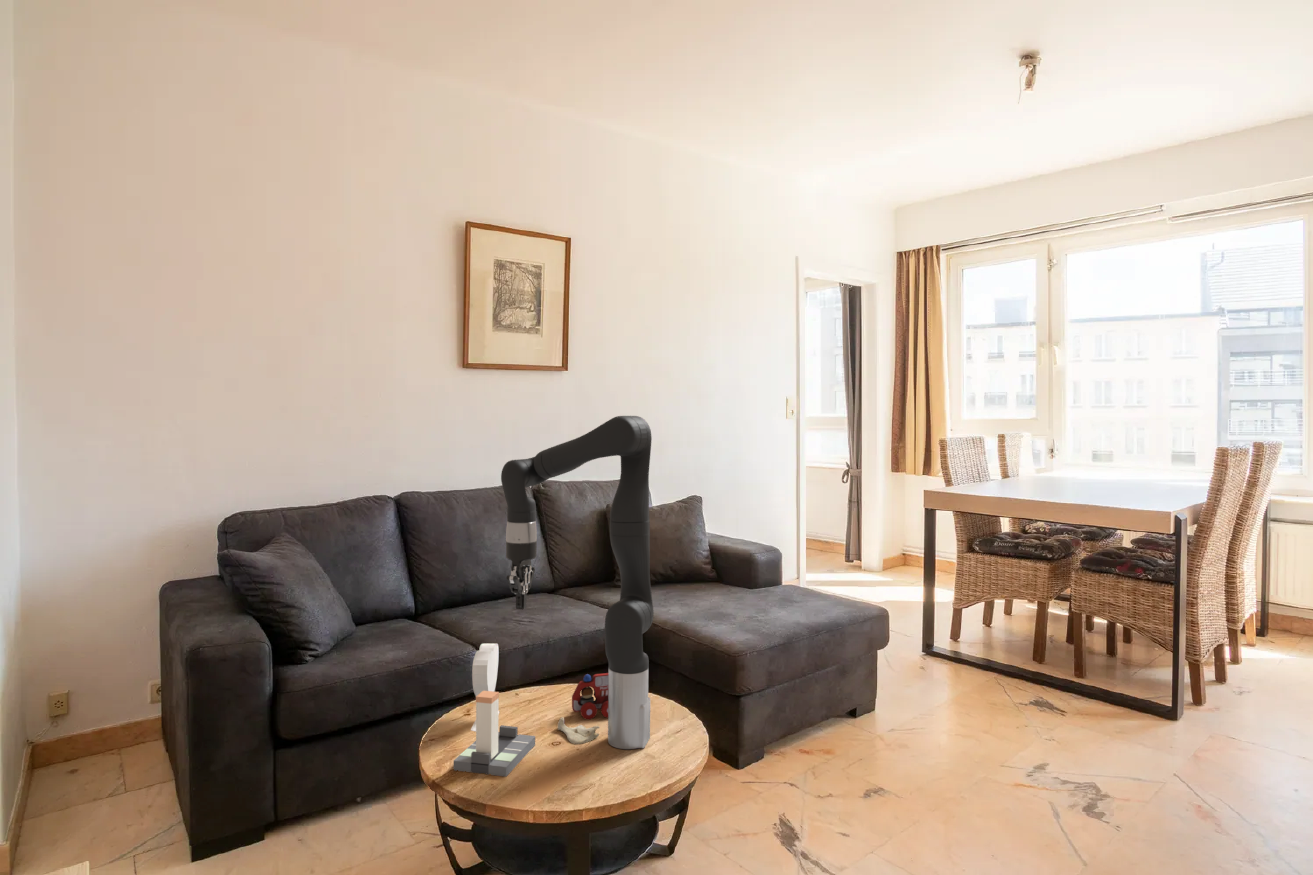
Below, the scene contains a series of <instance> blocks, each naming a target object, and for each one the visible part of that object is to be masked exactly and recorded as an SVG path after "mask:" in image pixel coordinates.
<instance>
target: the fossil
mask: <svg viewBox="0 0 1313 875" xmlns="http://www.w3.org/2000/svg"><path fill="white" fill-rule="evenodd" d="M598 729H600V726H599V725H596V726H595V725H594V726H592V727H588V728H586V726H584V725H582V724H579V725H577V726H575V727H568V726H567V725H566V724H565V717H564V716H561V717H560V718H559V721H558V722H557V731H561V732H563V733H564V734H565V735H566V738H567V740H568V741H569V742H570V743H571V744H574V745H583V744H586V742H587V743H589V742H592V741H594V740H595V739H597V738H598V737H599V736H600V734H599V733H596V730H598ZM594 738H595V739H594ZM593 739H594V740H593ZM591 740H592V741H591ZM588 741H589V742H588Z"/></svg>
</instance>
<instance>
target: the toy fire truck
mask: <svg viewBox="0 0 1313 875" xmlns="http://www.w3.org/2000/svg"><path fill="white" fill-rule="evenodd" d="M608 681H609V672H606V673H595V674H593V675H592V676H591V675H590V674H588V673H587V674H584V675H583V679H582V680H580V681H579V682H578V683H577V685H576V687H575V689H574V691H573V694H572V695H571V709H572V711H573V712H575V713H579V712H580V715H581V717H582V718H584V719H585V720H592V719H594V718H595V717H596V715H597V713H598V710H600V712H601V715H602V716H603V717H605V718H607V719H608Z"/></svg>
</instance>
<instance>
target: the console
mask: <svg viewBox="0 0 1313 875" xmlns="http://www.w3.org/2000/svg"><path fill="white" fill-rule="evenodd" d="M518 728H519V727H518V726H514V725H513V726H512V725H505V724H504V725H500V726H498V753H497V754H496V755H495V756H494V757H493V758H492V759H491V754H490V753H482V752H476V740H475V741H473V743H471V744H470V745H469V746H468V747H466V749H465V750H464V751H463V752H461V753H460V754H459V755H458V756H457V757H456V758H455V759H453V766H452V767H453V769H454V770H453V771H457V770H458V772H465V771H466V773H467V772H468V773H475V774H481V773H485V774H484V775H489V774H491V775H490V776H499V777H507V776H508V775H510V773H512V771H513V770H514V769H515V768H516V767H517V765H518V764H519V763H520V762H521V761H522V760H524V758H525V757H526V756H527V755H528V753H530V752H531V751H532V749H533V748H534V747H535V746H536V735H528V734H519V733H518Z"/></svg>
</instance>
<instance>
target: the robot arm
mask: <svg viewBox="0 0 1313 875" xmlns="http://www.w3.org/2000/svg"><path fill="white" fill-rule="evenodd" d="M651 430H652V429H651V427H650V425H649V423H648V422H647V421H646V419H644V418H643V417H641V416H639V415H638V416H637V415H617V416H614V417H612V418H611V419H610V418H609V420H606V421H605V422H604V423H602V424H600V425H599V426H597V427H595V428H594V429H592V430H590V431H588V432H587V433H585V434H583V435H581V436H579V437H576V438H574V439H571V440H568V441H565V442H562V443H559V444H557V445H554V446H550V447H549V448H546V449H543V450H541V451H540V452H537V454H536V455H535V456H533V457H529V458H528V457H527V458H524V459H523V458H522V459H519V458H518V459H511V460H508V461H507V462H505V464H504V465H503V467H502V470H501V474H500V481H501V486H502V490H503V493H504V494H503V496H504V499H505V502H506V505H507V506H506V507H507V508H506V509H507V511H506V512H507V513H506V516H507V518H506V520H507V521H506V529H505V530H506V531H505V557H506V559H507V560H509V561H511V566H510V575H509V574H508V575H506V581H507V585H508V587H509V589H510V591H511V593H512V594H514V595H515V609H516V610H524V609H526V608H527V594H528V592H529V590H530V589H531V587H532V583H533V579H534V575H535V572H536V567H535V566H532V560H534V559H536V558H537V557H538V556H537V554H538V553H537V550H538V549H537V546H538V545H537V542H538V539H537V535H538V534H537V532H538V530H537V529H538V528H537V522H536V521H537V506H536V504H537V503H536V500H535V499H534V498H532V497H529V496H528V495H527V491H526V488H530V487H534V486H537V485H539V484H542V483H544V482H546V481H548V480H549V479H552V478H555V477H557V476H561V475H565V474H568V473H570V472H572V471H574V470H576V469H578V468H580V467H581V466H583V465H584V464H586V463H588V462H590V461H593V460H596V459H601V458H602V459H603V458H606V457H607V458H608V457H614V456H616V457H618V456H619V457H620V477H619V482H618V485H617V488H616V491H615V495H614V496H613V500H612V502H611V503H612V504H611V507H610V512H609V540H610V546H611V549H612V552H613V555H614V557H615V561H616V563H617V566H618V569H619V573H620V596H619V600H618V601H616V602H614V603H612V605H611V606H610V607H609V608H608V609H607V611H606V614H605V617H604V618H605V619H604V645H605V648H604V649H605V655H606V658H607V662H608V673H609V681H608V718H607V742H608V745H610V746H612V747H614V748H616V749H621V750H634V749H635V750H636V749H644V748H646V745H647V744H648V742H649V740H650V739H651V698H650V697H649V665H650V664H649V662H650V661H649V660H650V659H649V656H648V654H647V653H645V652H644V647H643V646H644V645H643V643H644V642H643V634H644V633H646V632H647V631H648V630H649V629H650V628H651V626H652V624H653V622H654V614H655V612H654V603H653V595H652V587H651V585H652V584H651V577H650V574H651V573H650V565H651V563H650V559H651V558H650V555H651V551H650V548H651V547H650V546H651V545H650V539H651V537H650V536H651V533H650V532H651V531H650V528H651V527H650V526H651V525H650V480H649V477H650V476H649V475H650V465H651V463H650V462H651V450H652V437H653V436H652V432H651Z"/></svg>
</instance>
